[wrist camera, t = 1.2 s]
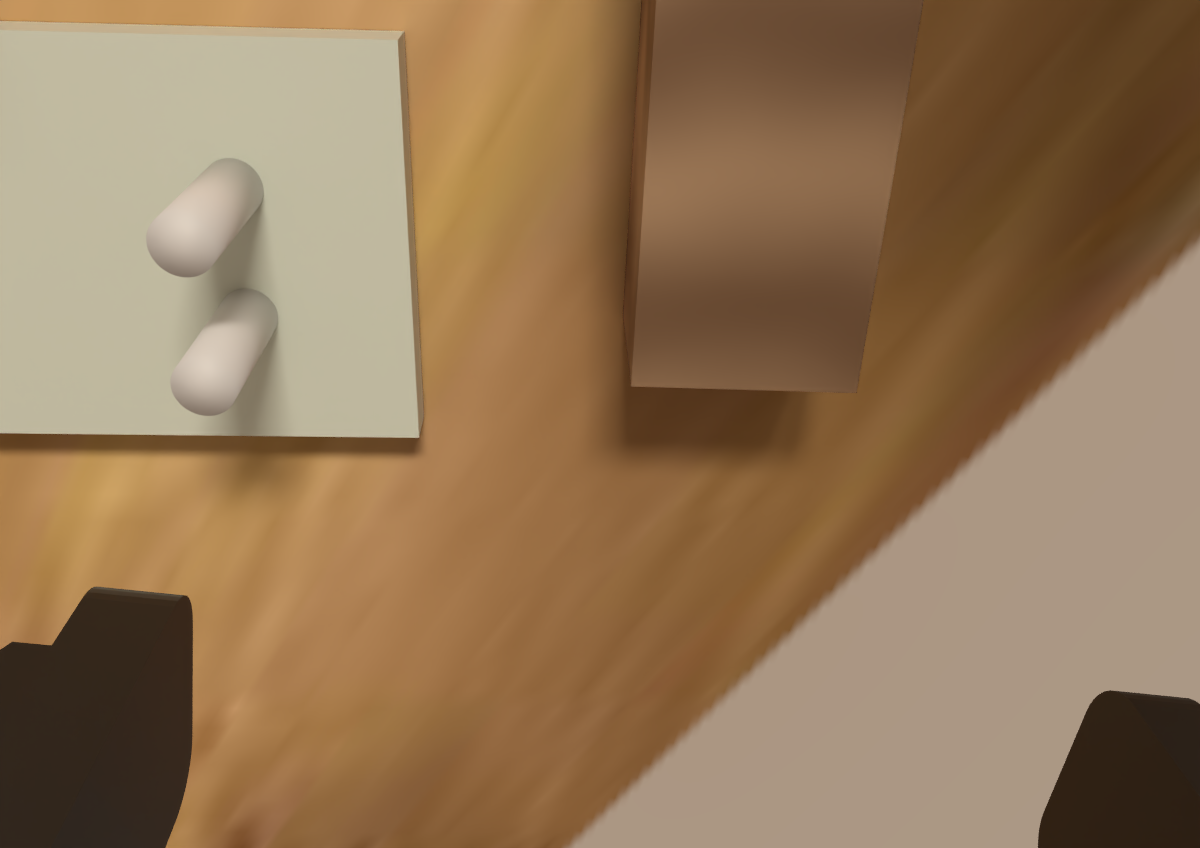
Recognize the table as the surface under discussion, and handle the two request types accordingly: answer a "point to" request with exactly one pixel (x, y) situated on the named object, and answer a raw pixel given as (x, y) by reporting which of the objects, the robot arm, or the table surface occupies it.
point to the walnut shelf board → (761, 188)
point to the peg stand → (206, 232)
